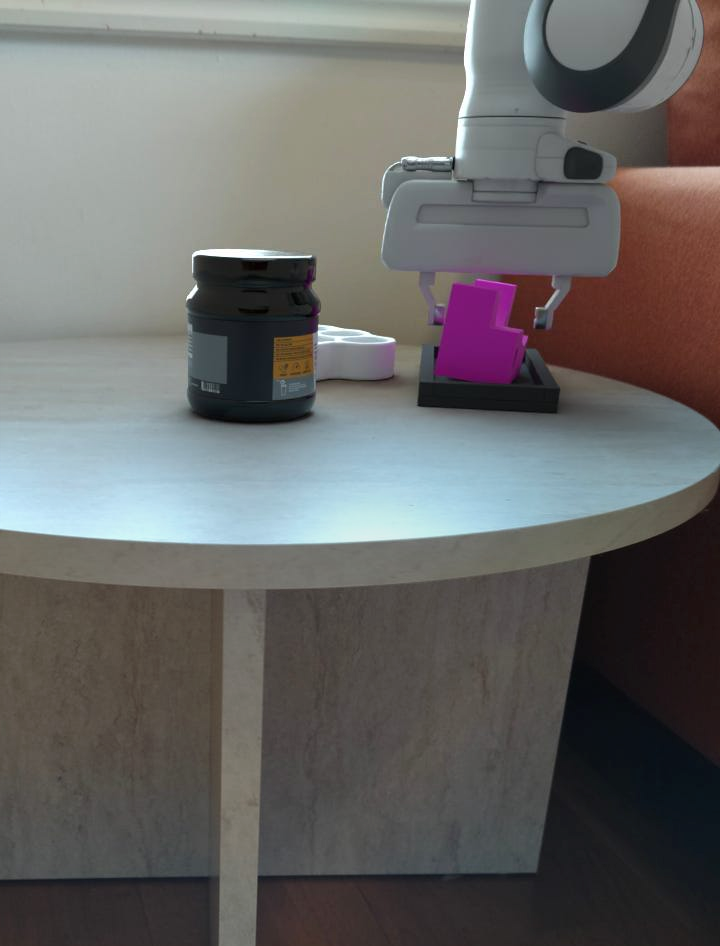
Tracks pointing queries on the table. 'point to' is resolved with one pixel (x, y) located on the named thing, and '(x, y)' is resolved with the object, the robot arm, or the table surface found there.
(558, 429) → the table surface
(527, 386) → the socket pad
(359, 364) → the white well tray
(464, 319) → the toy block
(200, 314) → the supplement container
